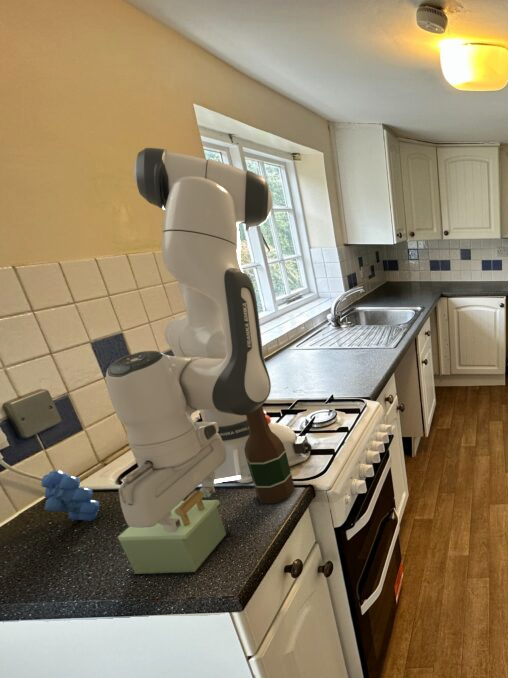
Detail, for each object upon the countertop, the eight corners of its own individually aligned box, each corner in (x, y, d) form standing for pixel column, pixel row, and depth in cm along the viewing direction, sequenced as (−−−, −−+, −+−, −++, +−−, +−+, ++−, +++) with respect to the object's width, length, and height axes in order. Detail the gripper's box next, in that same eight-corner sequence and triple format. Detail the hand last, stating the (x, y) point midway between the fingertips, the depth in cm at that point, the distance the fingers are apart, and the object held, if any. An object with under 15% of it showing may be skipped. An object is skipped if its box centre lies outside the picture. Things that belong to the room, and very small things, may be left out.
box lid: (220, 503, 81) (213, 482, 79) (186, 538, 72) (177, 517, 70) (160, 504, 80) (152, 484, 78) (119, 540, 71) (108, 518, 70)
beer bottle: (279, 480, 100) (255, 391, 91) (302, 488, 98) (280, 396, 88) (249, 499, 94) (221, 405, 84) (274, 508, 91) (247, 411, 82)
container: (226, 534, 84) (215, 503, 81) (194, 572, 75) (181, 539, 72) (173, 535, 83) (160, 504, 80) (134, 574, 74) (119, 540, 71)
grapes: (36, 528, 85) (9, 480, 81) (75, 507, 91) (52, 461, 87) (78, 537, 83) (53, 488, 78) (115, 515, 89) (93, 468, 84)
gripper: (138, 483, 61) (168, 554, 66) (222, 418, 79) (241, 478, 85) (94, 484, 60) (128, 555, 66) (189, 419, 79) (210, 478, 85)
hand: (192, 511), depth 75 cm, fingers open, 8 cm apart
